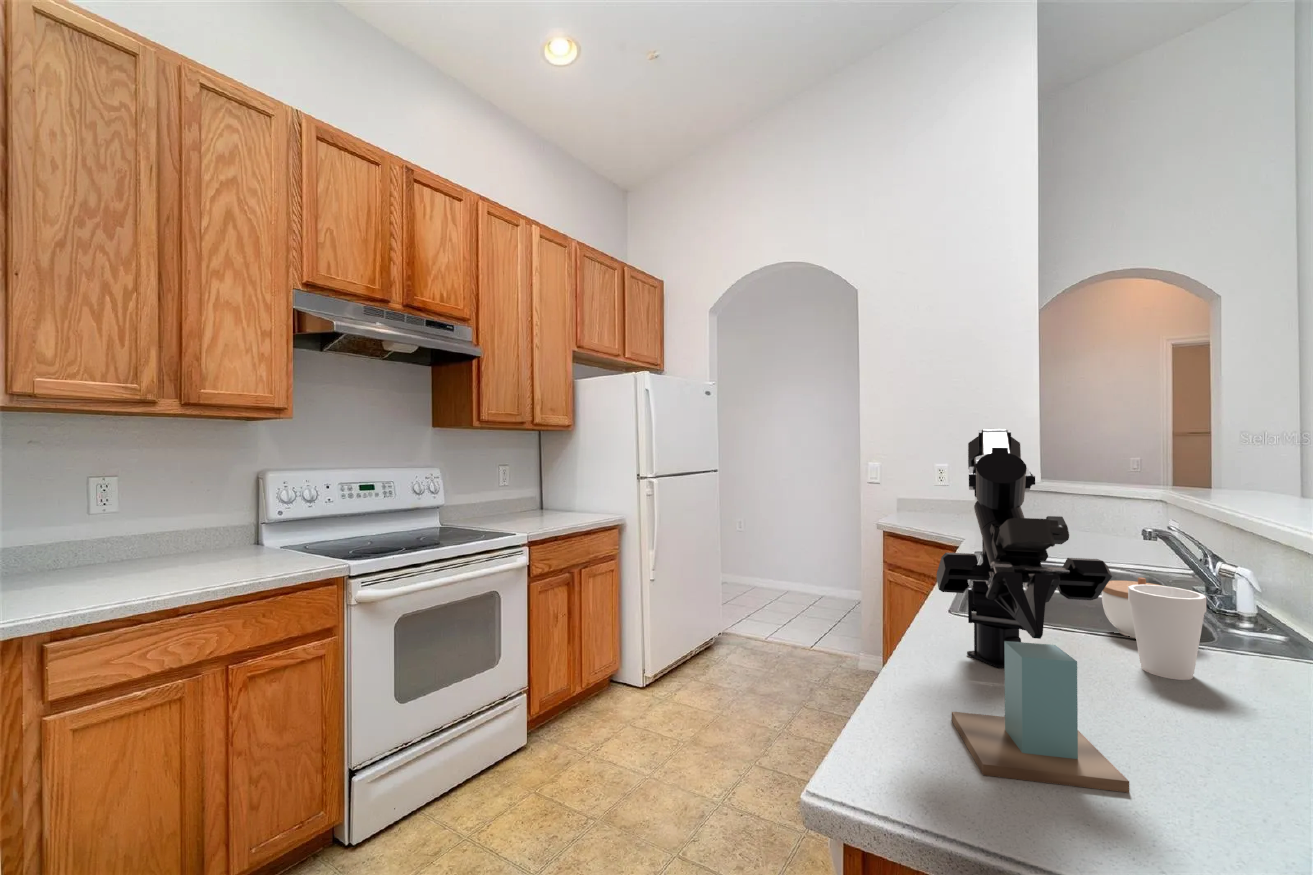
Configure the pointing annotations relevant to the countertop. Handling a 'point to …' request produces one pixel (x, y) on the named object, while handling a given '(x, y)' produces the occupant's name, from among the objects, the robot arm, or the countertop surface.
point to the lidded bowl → (1120, 605)
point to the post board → (1033, 757)
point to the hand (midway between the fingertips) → (1037, 636)
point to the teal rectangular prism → (1041, 699)
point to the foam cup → (1167, 628)
